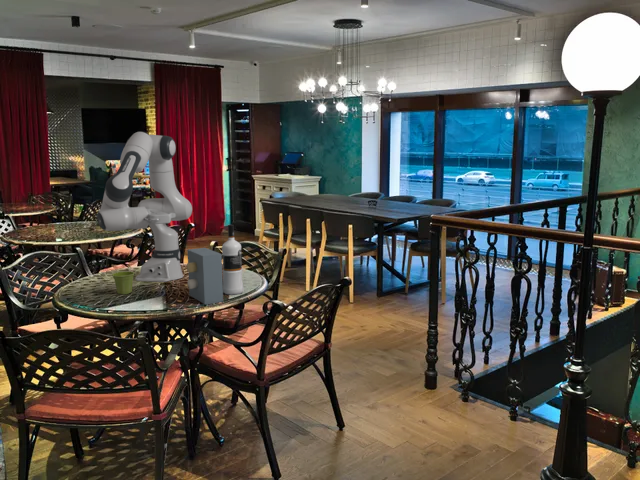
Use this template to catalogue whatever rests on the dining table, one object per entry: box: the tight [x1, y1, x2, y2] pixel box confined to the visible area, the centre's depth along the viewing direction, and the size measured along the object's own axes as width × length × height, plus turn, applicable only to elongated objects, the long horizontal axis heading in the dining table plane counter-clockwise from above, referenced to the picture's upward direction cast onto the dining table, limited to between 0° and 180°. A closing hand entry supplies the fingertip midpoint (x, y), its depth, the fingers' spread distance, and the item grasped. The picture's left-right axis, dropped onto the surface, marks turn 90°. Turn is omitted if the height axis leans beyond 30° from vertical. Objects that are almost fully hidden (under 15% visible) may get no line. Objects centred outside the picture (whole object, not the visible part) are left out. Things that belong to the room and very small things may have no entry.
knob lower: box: [187, 278, 198, 290], centre depth 245 cm, size 14×4×4 cm, turn 122°
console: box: [186, 247, 224, 305], centre depth 245 cm, size 8×18×20 cm, turn 32°
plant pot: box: [111, 271, 136, 295], centre depth 256 cm, size 9×9×9 cm
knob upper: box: [186, 262, 197, 273], centre depth 244 cm, size 14×4×4 cm, turn 122°
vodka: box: [221, 224, 245, 296], centre depth 254 cm, size 9×9×30 cm
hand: (174, 215), depth 242 cm, fingers closed
